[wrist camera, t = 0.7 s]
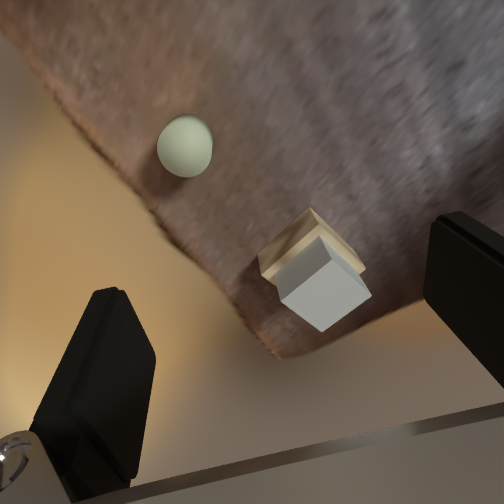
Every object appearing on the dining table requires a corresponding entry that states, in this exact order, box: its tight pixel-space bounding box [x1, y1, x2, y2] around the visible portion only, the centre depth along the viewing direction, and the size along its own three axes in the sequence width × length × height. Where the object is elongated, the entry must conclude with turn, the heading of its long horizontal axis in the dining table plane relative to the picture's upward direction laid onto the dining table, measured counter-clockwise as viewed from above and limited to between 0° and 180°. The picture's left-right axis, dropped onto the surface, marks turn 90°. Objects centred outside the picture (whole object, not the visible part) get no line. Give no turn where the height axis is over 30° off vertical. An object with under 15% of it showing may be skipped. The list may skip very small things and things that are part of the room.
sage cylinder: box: [157, 114, 213, 177], centre depth 33 cm, size 5×5×5 cm
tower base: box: [258, 207, 366, 287], centre depth 42 cm, size 9×9×5 cm
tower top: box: [274, 236, 372, 332], centre depth 37 cm, size 7×7×5 cm
